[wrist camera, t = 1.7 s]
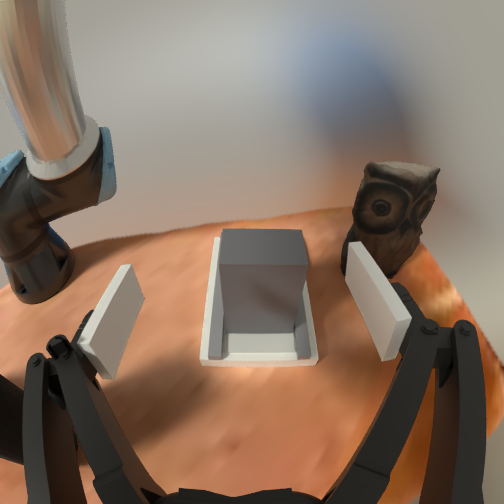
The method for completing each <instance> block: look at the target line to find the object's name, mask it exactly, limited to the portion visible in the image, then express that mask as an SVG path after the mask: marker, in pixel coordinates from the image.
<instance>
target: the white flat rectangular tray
mask: <svg viewBox="0 0 504 504" xmlns="http://www.w3.org/2000/svg"><path fill="white" fill-rule="evenodd" d="M221 240H222V232H221V237H215V240H214V246H213V253H212V260H211V267H210V275H209V282H208V290H207V297H206V305H205V314H204V322H203V331H202V340H201V349H200V358H199V359H200V362H201V365H202V366H216V367H293V366H312V365H316V363H317V361H318V359H319V358H318V351H317V344H316V337H315V331H314V324H313V318H312V312H311V306H310V300H309V294H308V288H307V282H306V280H305V284H304V288H303V293H302V297H301V301H300V305H299V308H298V312H297V316H296V320H295V324H294V328H293V331H292V333H282V334H235V333H226V328H225V319H224V311H223V301H222V292H221V282H220V272H219V257H220V248H221Z"/></svg>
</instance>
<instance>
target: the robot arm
mask: <svg viewBox="0 0 504 504" xmlns="http://www.w3.org/2000/svg"><path fill="white" fill-rule="evenodd" d="M0 89H1V91H2V94H3V96H4V99H5V101H6V103H7V105H8V108H9V110H10V112H11V114H12V116H13V118H14V121H15V123H16V125H17V127H18V129H19V131H20V133H21V135H22V136H23V139H24V140H25V142H26V144H27V146H28V148H29V149H28V152H27V157H24V153H23V152H22V151H21V150H17V151H15V152H12V153H11V154H9V155H8V156H6V157H5V158H3V159H2V160H1V161H0V257H1V259H2V260H3V262H4V265H5V269H6V272H7V275H8V279H9V282H10V285H11V288H12V290H13V292H14V293H15V295H16V296H17V297H18V299H19V300H20V301H21V302H23V303H26V304H36V303H40V302H42V301H44V300H46V299H48V298H50V297H51V296H53V295H54V294H55V293H56V292H58V291H59V290H60V289H61V288H62V286H63V285H64V284H65V283H66V281H67V280H68V278H69V277H70V275H71V273H72V270H73V267H74V256H73V253H72V251H71V249H70V247H69V246H68V244H67V243H66V242H65V241H64V240H63V239H62V238H61V237H60V236H59V235H58V234H57V233H56V232H55V231H54V230H53V229H52V228H51V227H50V225H49V223H48V222H51V221H53V220H56V219H58V218H60V217H63V216H66V215H68V214H71V213H74V212H77V211H79V210H83V209H85V208H88V207H91V206H97V205H98V204H99V203H101V202H103V201H106V200H108V199H111V198H112V197H113V196H114V195H115V193H116V173H115V166H114V156H113V149H112V140H111V134H110V130H109V129H108V128H107V127H98V125H97V123H96V122H95V120H94V119H93V118H91V117H89V116H87V115H84V113H83V109H82V105H81V101H80V97H79V92H78V88H77V84H76V79H75V74H74V69H73V63H72V58H71V52H70V45H69V39H68V31H67V22H66V13H65V0H0ZM345 282H346V284H347V286H348V288H349V290H350V292H351V294H352V296H353V298H354V300H355V302H356V304H357V306H358V309H359V311H360V313H361V315H362V317H363V319H364V322H365V324H366V326H367V328H368V330H369V333H370V335H371V337H372V340H373V342H374V344H375V346H376V349H377V351H378V353H379V356H380V358H381V361H382V362H383V361H387V360H391V359H395V358H396V357H397V354H398V352H399V351H400V353H401V355H402V358H401V360H400V362H399V365H398V367H397V369H396V373H395V375H394V377H393V380H392V382H391V384H390V387H389V389H388V391H387V393H386V395H385V397H384V400H383V402H382V404H381V406H380V408H379V410H378V412H377V414H376V416H375V418H374V420H373V422H372V423H371V425H370V427H369V429H368V431H367V433H366V434H365V436H364V438H363V440H362V441H361V443H360V445H359V447H358V448H357V450H356V452H355V453H354V455H353V456H352V458H351V460H350V461H349V463H348V464H347V466H346V467H345V469H344V470H343V472H342V473H341V475H340V476H339V478H338V479H337V480H336V482H335V483H334V484H333V485H332V487H331V488H330V489H329V491H328V492H327V493H326V495H325V496H324V497H323V499H322V500H320V499H318V498H316V497H314V496H312V495H309V494H306V493H301V492H295V491H292V489H291V488H286V489H275V490H262V491H259V492H255V493H251V494H247V495H243V496H238V497H229V496H225V495H221V494H217V493H213V492H210V491H206V490H196V489H185V488H179V492H175V493H171V494H168V495H167V494H166V493H165V491H164V490H163V489H162V488H161V487H160V486H159V485H157V484H156V483H155V481H154V480H153V479H152V478H151V476H150V475H149V473H148V472H147V470H146V469H145V467H144V466H143V464H142V463H141V461H140V460H139V458H138V457H137V455H136V453H135V452H134V450H133V448H132V447H131V445H130V443H129V442H128V440H127V438H126V436H125V435H124V433H123V431H122V429H121V427H120V426H119V424H118V422H117V420H116V418H115V416H114V414H113V412H112V410H111V408H110V406H109V404H108V402H107V400H106V398H105V396H104V393H103V391H102V389H101V387H100V384H99V382H98V380H97V379H96V378H95V376H96V374H97V372H98V373H99V375H100V376H101V377H102V378H103V379H111V380H114V379H115V376H116V373H117V370H118V367H119V364H120V361H121V359H122V356H123V353H124V350H125V347H126V345H127V342H128V339H129V337H130V334H131V332H132V329H133V326H134V324H135V321H136V319H137V316H138V314H139V311H140V309H141V306H142V304H143V302H144V299H145V298H144V296H143V293H142V291H141V288H140V285H139V283H138V280H137V278H136V275H135V272H134V269H133V267H132V264H126V265H121V266H120V268H119V269H118V271H117V273H116V274H115V276H114V277H113V279H112V281H111V282H110V284H109V286H108V287H107V289H106V291H105V292H104V294H103V296H102V297H101V299H100V301H99V303H98V304H97V306H96V308H95V310H91V311H90V312H89V313H88V314H87V315H86V316H85V317H84V319H83V321H82V324H80V326H79V329H78V330H77V332H76V334H75V336H74V337H73V339H72V341H71V343H69V341H68V340H67V338H66V337H65V336H64V335H56V336H54V337H53V338H51V339H50V341H49V342H48V344H47V346H46V350H47V351H48V352H49V354H50V355H51V356H52V358H48V359H46V358H45V356H44V355H43V354H42V353H36V354H34V355H32V356H31V357H30V359H29V360H28V363H27V368H26V376H25V386H24V398H23V423H22V434H23V458H24V470H25V479H26V486H27V493H28V502H27V504H87V500H86V497H85V493H84V489H83V485H82V481H81V476H80V472H79V467H78V462H77V456H76V450H75V444H74V436H73V428H72V423H73V426H74V429H75V431H76V434H77V437H78V439H79V442H80V444H81V446H82V449H83V451H84V454H85V456H86V458H87V460H88V462H89V465H90V467H91V469H92V471H93V473H94V475H95V479H94V480H93V486H94V488H95V490H96V492H97V494H98V496H99V498H100V499H101V501H102V503H103V504H377V502H378V501H379V499H380V498H381V496H382V494H383V492H384V491H385V489H386V487H387V485H388V483H389V480H390V473H391V471H392V469H393V467H394V465H395V463H396V461H397V459H398V457H399V455H400V453H401V451H402V449H403V447H404V445H405V442H406V440H407V438H408V436H409V433H410V431H411V428H412V426H413V424H414V421H415V419H416V416H417V413H418V411H419V408H420V405H421V402H422V399H423V396H424V393H425V390H426V387H427V384H428V381H429V377H430V374H431V371H432V368H435V403H434V417H433V428H432V437H431V444H430V451H429V457H428V463H427V468H426V474H425V478H424V483H423V487H422V491H421V496H420V501H419V504H484V501H483V493H482V482H483V474H484V464H485V452H486V398H485V385H484V375H483V367H482V360H481V353H480V347H479V341H478V336H477V331H476V328H475V326H474V325H473V324H472V323H470V322H469V321H466V320H459V321H457V322H456V323H455V325H454V327H453V328H445V327H439V325H438V324H437V323H436V322H435V321H433V320H431V319H426V318H425V316H424V315H423V313H422V312H421V310H420V309H419V307H418V306H417V304H416V303H415V301H413V298H412V297H411V295H410V294H409V292H408V291H407V290H406V288H405V287H404V286H402V285H401V284H399V283H398V282H396V283H389V281H388V280H387V278H386V277H385V275H384V274H383V272H382V271H381V269H380V268H379V267H378V265H377V264H376V262H375V261H374V259H373V258H372V257H371V255H370V254H369V252H368V251H367V250H366V248H365V247H364V246H363V244H362V243H361V241H360V242H350V243H349V246H348V257H347V267H346V276H345Z"/></svg>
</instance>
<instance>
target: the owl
mask: <svg viewBox="0 0 504 504" xmlns="http://www.w3.org/2000/svg"><path fill="white" fill-rule="evenodd" d="M439 172H440V168H437V167H429V166H423V165H419V164H414V163H403V162H382V163H375V162H373V161H371V162H370V163H369V164H367V165H366V166H365V169H364V178H363V179H362V181H361V184H360V187H359V190H358V192H357V196H356V200H355V204H354V208H353V210H352V214H353V221H354V223H353V225H352V227H351V229H350V230H349V232H348V234H347V238H346V239H345V242H344V244H343V248H342V254H341V261H342V264H341V270H342V273H343V275H344V276H346V267H347V257H348V246H349V243H350V242H360V241H361V243H362V244H363V246H364V247H365V248H366V250H367V251H368V252H369V254H370V255H371V257H372V258H373V259H374V261H375V262H376V264H377V265H378V267H379V268H380V269H381V271H382V272H383V274H384V275H385V277H386V278H387V277H388V278H390V279H392V278H393V276H394V275H396V274H397V272H398V270H399V268H400V267H401V266H402V265H403V263H404V262H405V261H406V260H407V259H408V258H409V257H410V256H411V255H412V254H413V252H414V250H415V249H416V247H417V246H418V244H419V241H420V238H419V237H420V235H421V234H422V233H423V232H422V229H421V224H422V222H423V221H424V219H425V218H426V217H427V215H428V213H429V212H430V210H431V208H432V205H433V203H434V201H435V200H434V198H435V196H436V193H437V188H436V179H437V175H438V173H439Z"/></svg>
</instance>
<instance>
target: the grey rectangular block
mask: <svg viewBox="0 0 504 504" xmlns="http://www.w3.org/2000/svg"><path fill="white" fill-rule="evenodd" d="M308 267H309V262H308V257H307V252H306V248H305V243H304V238H303V234H302V230H292V229H223V232H222V240H221V248H220V257H219V272H220V282H221V292H222V301H223V311H224V319H225V328H226V333H235V334H282V333H292V331H293V328H294V324H295V320H296V316H297V312H298V308H299V305H300V301H301V297H302V293H303V288H304V284H305V280H306V276H307V272H308Z"/></svg>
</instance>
